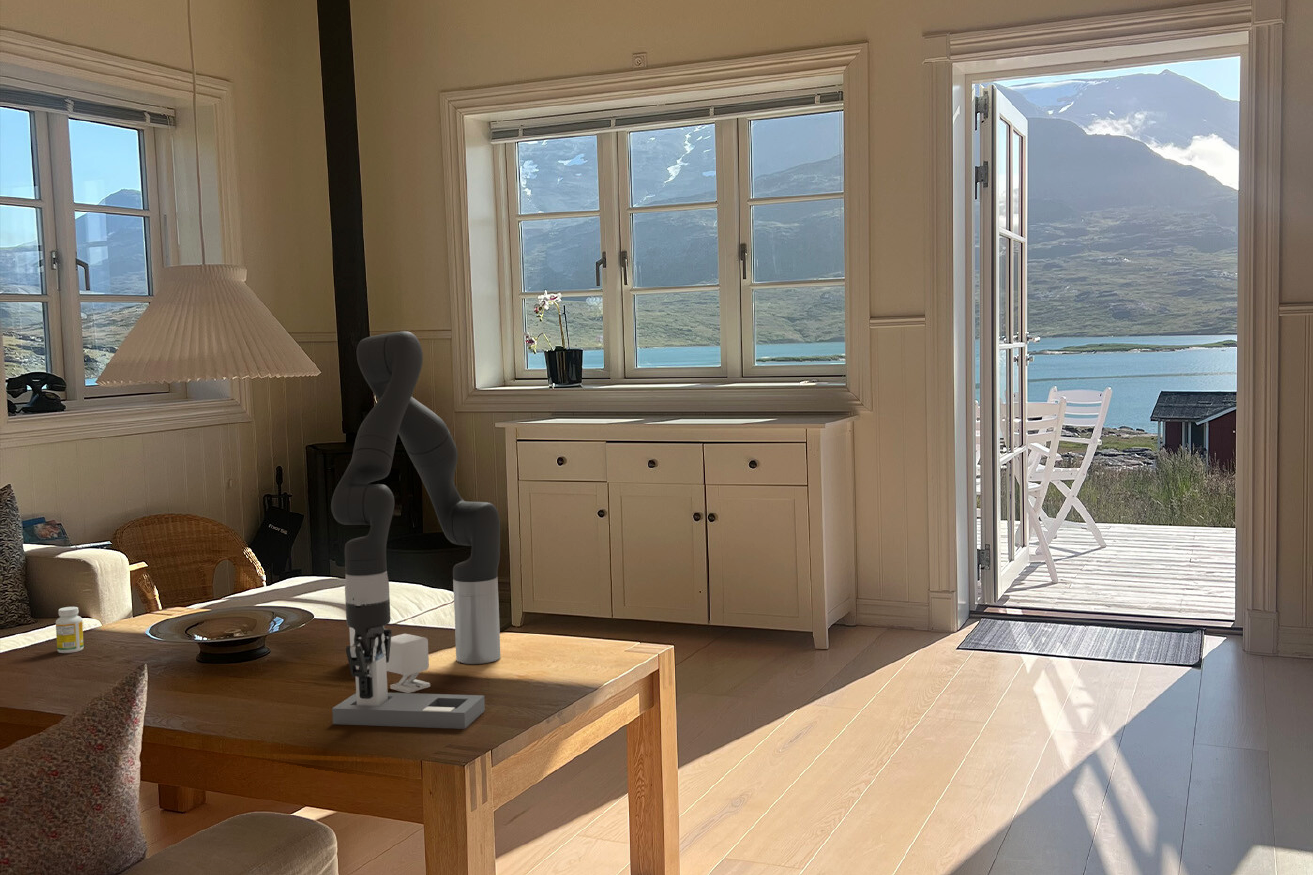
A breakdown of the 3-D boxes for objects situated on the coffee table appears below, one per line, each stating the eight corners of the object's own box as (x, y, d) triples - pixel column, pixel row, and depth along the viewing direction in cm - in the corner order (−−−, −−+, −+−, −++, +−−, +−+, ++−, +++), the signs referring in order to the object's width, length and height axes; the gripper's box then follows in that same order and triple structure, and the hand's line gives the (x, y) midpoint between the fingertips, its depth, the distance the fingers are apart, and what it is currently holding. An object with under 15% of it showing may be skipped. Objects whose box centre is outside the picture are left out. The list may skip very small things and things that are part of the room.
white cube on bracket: (409, 683, 224) (407, 632, 224) (432, 688, 220) (430, 637, 219) (383, 690, 219) (380, 639, 219) (406, 696, 215) (404, 644, 214)
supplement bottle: (67, 654, 255) (64, 611, 254) (52, 652, 257) (49, 610, 256) (89, 648, 259) (86, 606, 259) (73, 646, 262) (71, 605, 261)
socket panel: (358, 709, 208) (357, 690, 207) (484, 713, 203) (484, 694, 203) (333, 727, 198) (332, 707, 198) (465, 732, 193) (464, 711, 193)
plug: (367, 710, 204) (364, 651, 204) (388, 710, 204) (385, 652, 203) (357, 717, 200) (354, 657, 200) (378, 717, 200) (376, 658, 199)
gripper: (365, 589, 208) (369, 682, 209) (328, 606, 194) (333, 705, 195) (404, 589, 207) (408, 683, 208) (370, 607, 193) (374, 707, 194)
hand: (371, 693), depth 202 cm, fingers closed on plug, 4 cm apart
